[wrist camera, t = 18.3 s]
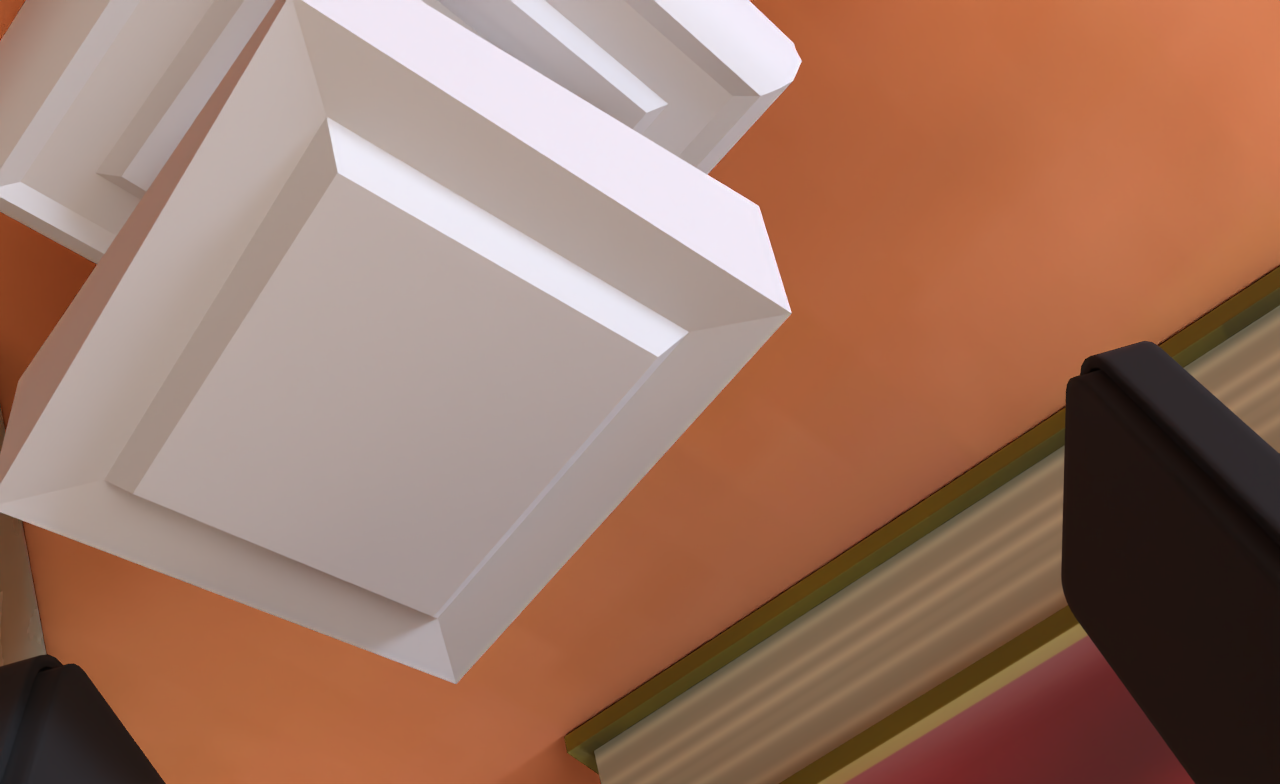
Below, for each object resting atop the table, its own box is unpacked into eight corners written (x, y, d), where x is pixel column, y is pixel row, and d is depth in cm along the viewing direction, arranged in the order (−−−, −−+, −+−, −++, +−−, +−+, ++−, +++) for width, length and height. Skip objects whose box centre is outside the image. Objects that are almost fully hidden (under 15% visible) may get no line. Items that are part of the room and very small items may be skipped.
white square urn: (798, 36, 16) (1138, 368, 9) (502, 370, 18) (595, 847, 11) (191, -534, 11) (-59, -742, 4) (-110, 7, 13) (-597, 437, 6)
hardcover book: (1617, 485, 26) (1810, 620, 22) (843, 931, 30) (906, 1102, 26) (1554, 86, 19) (1817, 193, 15) (564, 737, 23) (600, 933, 20)
